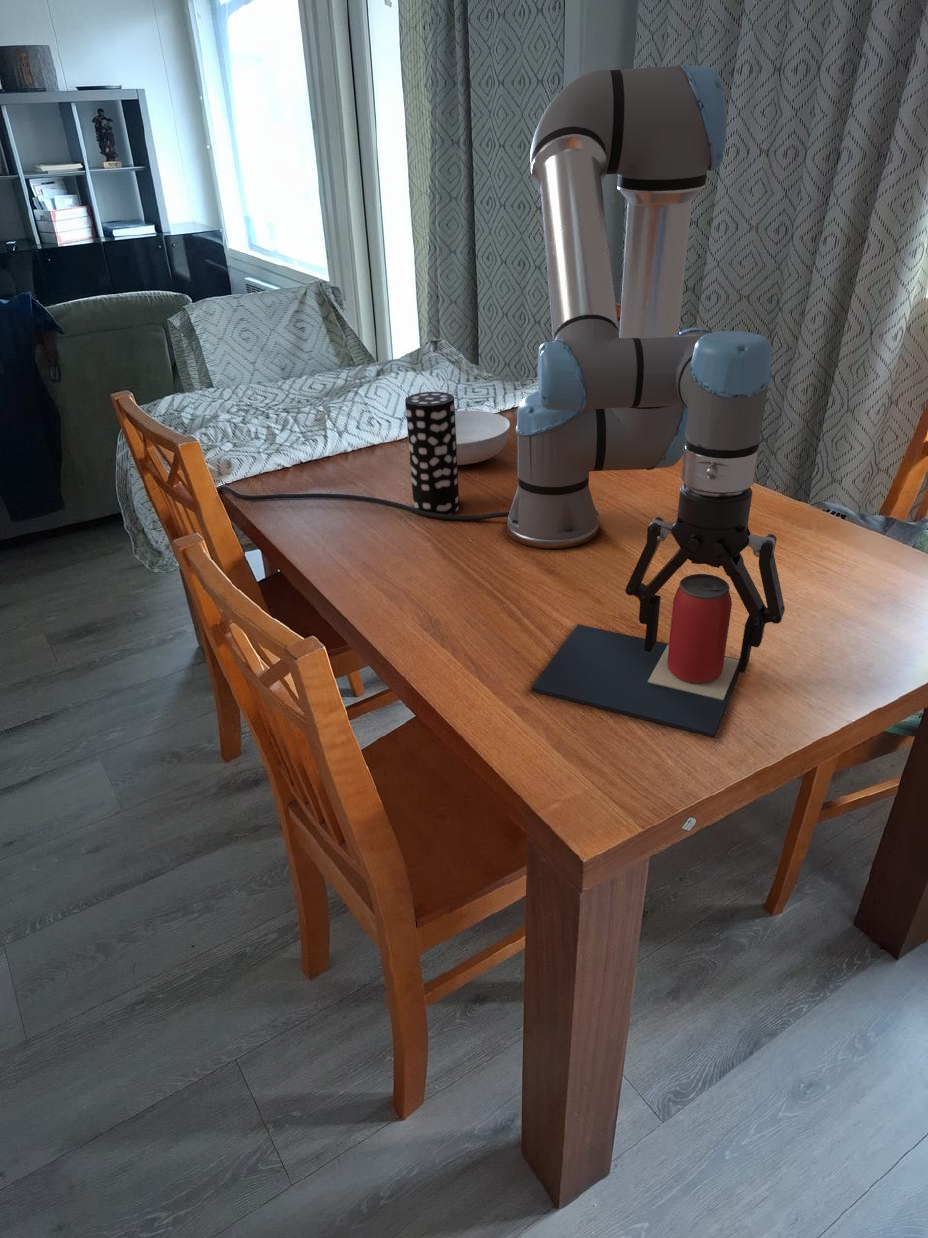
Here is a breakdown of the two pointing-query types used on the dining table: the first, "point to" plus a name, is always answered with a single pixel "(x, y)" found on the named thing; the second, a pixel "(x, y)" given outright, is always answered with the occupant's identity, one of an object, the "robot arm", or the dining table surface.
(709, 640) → the beer can
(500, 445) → the serving bowl
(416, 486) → the spotted tube
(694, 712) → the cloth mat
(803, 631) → the dining table surface
